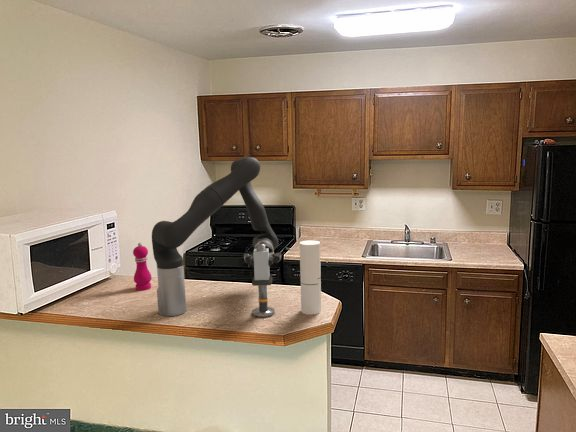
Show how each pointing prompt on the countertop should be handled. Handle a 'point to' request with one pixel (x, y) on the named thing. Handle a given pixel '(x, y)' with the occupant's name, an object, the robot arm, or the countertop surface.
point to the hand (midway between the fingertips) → (261, 263)
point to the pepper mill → (141, 268)
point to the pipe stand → (262, 296)
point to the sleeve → (261, 264)
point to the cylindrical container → (310, 277)
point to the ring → (262, 282)
